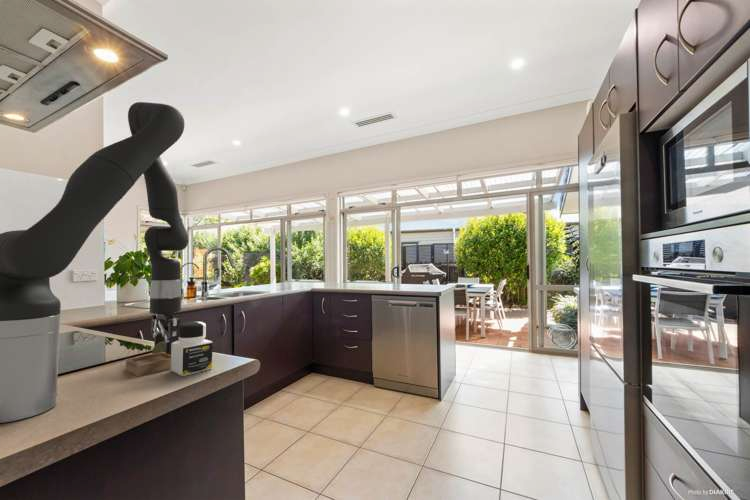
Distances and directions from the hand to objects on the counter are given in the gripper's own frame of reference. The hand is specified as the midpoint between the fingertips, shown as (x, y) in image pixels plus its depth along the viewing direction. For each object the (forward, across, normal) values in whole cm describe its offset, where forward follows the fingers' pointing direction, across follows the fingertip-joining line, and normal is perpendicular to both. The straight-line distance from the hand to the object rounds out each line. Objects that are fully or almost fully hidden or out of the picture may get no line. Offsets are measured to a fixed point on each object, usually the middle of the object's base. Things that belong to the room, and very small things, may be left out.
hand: (164, 352), depth 91 cm
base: (+2, +7, -5) cm, 9 cm away
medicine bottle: (+2, +16, +1) cm, 16 cm away
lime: (+2, 0, 0) cm, 2 cm away
